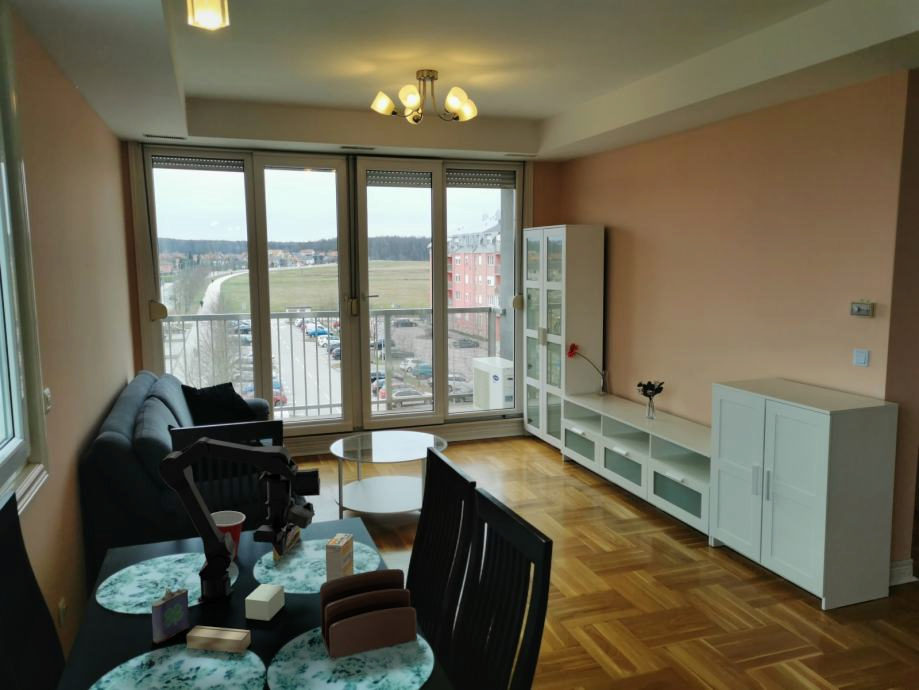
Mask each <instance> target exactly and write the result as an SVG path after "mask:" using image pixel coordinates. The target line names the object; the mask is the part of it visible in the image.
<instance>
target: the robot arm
mask: <svg viewBox="0 0 919 690" xmlns="http://www.w3.org/2000/svg"><path fill="white" fill-rule="evenodd" d="M203 457H208V458H213V459H218V460H223V461H224V460H225V461H230V462H237V463H242V464H247V465H251V466H254V467H256V468H258V469H260V470H261V471H264V472H263V473H262V474H261V476H260V477H259V479H258V482H259V483H266V485H267V487H266V488H267V501H266V502H265V503H264V508H267V513H268V516H267V517H266V518H265V520H264V521H265V523H266V524H270V525H265V524H262V525H261V526H260V527H258V528H257V529H256V530H255V531H254V532H253V533H252V536H253V539H252V540H253V543H254V542H255V543H267V544H272V548H273V547H274V548H275V550H276V552H277V553H278V555H279V556H282V557H283V556H284V555H285V554H284V552H285V548H286V544H287V540H288V536H289V533H290V532H291V531H292V530H293V529H294V528H295V527H296V526H299V528H300V529H302V530H305V529H307V528H308V526H309V525H311V522H312V519H313V517H315V515H316V514H315V510H314V504H313V503H312V502H310V501H307V502H306V503H305V504H304V505H302V504H300V505H297V504H296V499H295V498H294V497H292V493H293V494H294V495H295V496H297V497H311V496H321V478H320V473H319V472H320V471H319V470H320V469H319V468H310V469H299V468H300V467H299V466H298V465H297V464H296V462H295V461H294V460H293V458H292V457H291V453H290V451H289V450H288V448H287V447H284V445H283V446H282V445H266V446H251V445H246V444H240V443H235V442H230V441H224V440H223V441H222V440H218V439H212V438H210V437H205V436H204V437H201V438H199V439H198V440H197V441H196V442H194V443H192V444H190V445H188V446H186V447H185V448H183V449H182V450H179V451H178V450H177V451H172V452H171V453H169V454H167V455H166V456H165V458H163V460H162V461H160V463H159V465H158V467H157V471H158V475H159V477H160V478H161V479H162V480H163V481H164V483H165V484H166V485H167V486H168V487H169V488H170V489H172V490H174V492H176V494H177V495H178V497H179V499H180V501H181V503H182V505H183V506H184V509H185V510H186V512H187V514H188V516H189V519H191V521H192V524H193V527H195V529H196V531H197V533H198V535H199V537H200V539H201V540H202V544H203V553H204V557H205V561H204V562H203V565H202V566H201V568H200V570H199V571H198V577H199V579H200V582H199V583H200V596H198V597H197V601H200V602H210V603H222V602H223V601H224V600H225V599H226V598H228V596H229V595H231V593H232V592H233V591H234V589H233V588H232V579H231V578H232V577H230V571H229V570H228V569H229V568H230V567H231V565H232V563H233V560H234V559H235V557H234V556H235V553H236V548H235V546H236V543H235V542H234V541H233V540H232V537H231V534H230V532H228V533H226V534H223V533H222V532H221V531H220V530H219V529H218V527H217V525H216V524H215V522H214V520H213V518H212V516H211V514H212V513H211V512H210V511H209V509H208V507H207V505H206V503H205V500H204V499H203V497H202V495H201V493H200V491H199V489H198V487H197V486H196V484H195V481H194V475H193V474H194V473H193V468H192V465H193V464H194V463H196V462H197V461H198V460H200V459H201V458H203ZM291 482H292V488H291ZM291 489H292V491H291ZM291 492H292V493H291ZM291 523H292V524H294V525H291Z"/></svg>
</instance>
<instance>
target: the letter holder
mask: <svg viewBox="0 0 919 690" xmlns="http://www.w3.org/2000/svg"><path fill="white" fill-rule="evenodd" d="M319 590H320V591H319V593H320V594H319V597H320V598H319V599H320V632H321V633H320V635H321V639H322V642H323V645H324V647H325V650H326V652H328V653H327V655H328V657H330V658H329V659H330V660H333V658H334V659H338V658H342V657H349V656H353V655H356V654H360V653H365V652H366V653H367V652H370V651H375V650H378V649H379V650H380V649H384V648H388V647H392V646H396V645H400V644H405V643H410V642H415V641H417V640H418V634H417V633H418V632H417V630H418V628H417V626H418V625H417V610H416V608H415V607H413V606H411V591H410V590H409V589H408V588H405V573H404V570H403V569H399V568H393V569H392V568H391V569H390V568H389V569H377V570H372V571H371V570H370V571H365V572H360V573H356V574H355V573H354V575H350V576H346V577H342V578H338V579H334V580H331V581H328V582H327V581H325V582H324V583H322V584H321V585H320V587H319Z"/></svg>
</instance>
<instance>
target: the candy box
mask: <svg viewBox="0 0 919 690" xmlns="http://www.w3.org/2000/svg"><path fill="white" fill-rule="evenodd" d="M291 525H294V524H292V523H291ZM300 538H301V528H299V526H296V527H295V528H294V529H293V530H292V531H291V532H290V533H289V536H288V540H287V544H286V548H285V552H286V551H287V550H288V549H289V548H290V547H291V546H292V545H293V546H294V545H295V544H296V543H297V542H298V540H299V539H300ZM293 546H292V547H293ZM290 549H291V548H290ZM290 549H289V550H290ZM289 550H288V551H289ZM288 551H287V552H288ZM272 552H273V553H272V556H273V557H272V560H274V559H279V560H280V559H281V558H282V557H281V556H279V555H278V553H277V552H276V550H275V548H274V547H273V546H272ZM285 552H284V553H285ZM287 552H286V553H287ZM286 553H285V554H286ZM280 557H281V558H280Z"/></svg>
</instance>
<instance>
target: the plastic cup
mask: <svg viewBox="0 0 919 690" xmlns="http://www.w3.org/2000/svg"><path fill="white" fill-rule="evenodd" d="M210 514H211V516H212V518H213V520H214V522H215V524H216V525H217V527H218V529H219V530H220V531H221V532H222V533H223V534H226V533H228V532H230V534H231V537H232V540H233V541H234V542H235V543H236V546H235V548H236V553H235V556H234V558H236V557H237V556H238V552H239V544H240V540H241V533H242V527H243V523H244V522H245V520H246V515H245V514H243V512H239V511H236V510H235V511H233V510H224V511H217V512H213V513H210Z"/></svg>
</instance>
